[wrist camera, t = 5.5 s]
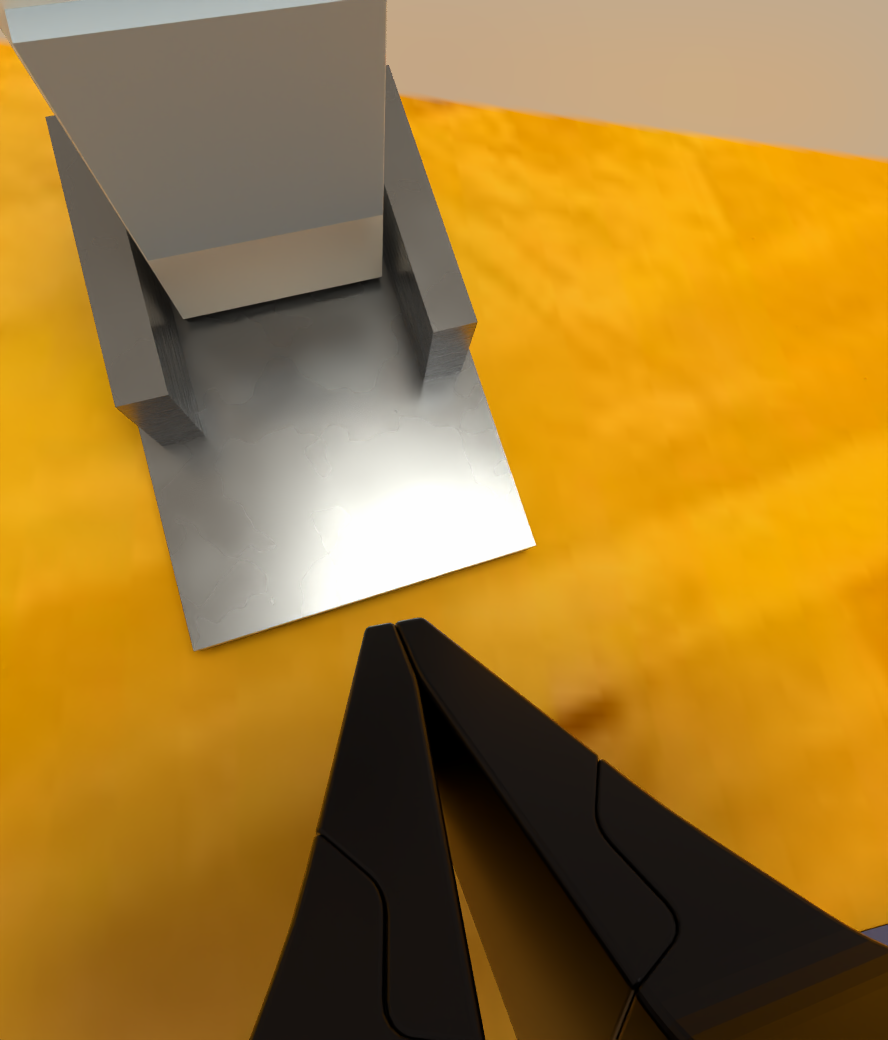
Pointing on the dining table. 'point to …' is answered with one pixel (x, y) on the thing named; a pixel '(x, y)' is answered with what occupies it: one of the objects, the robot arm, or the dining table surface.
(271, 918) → the dining table surface
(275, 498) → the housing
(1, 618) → the dining table surface
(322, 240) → the white rectangular block
